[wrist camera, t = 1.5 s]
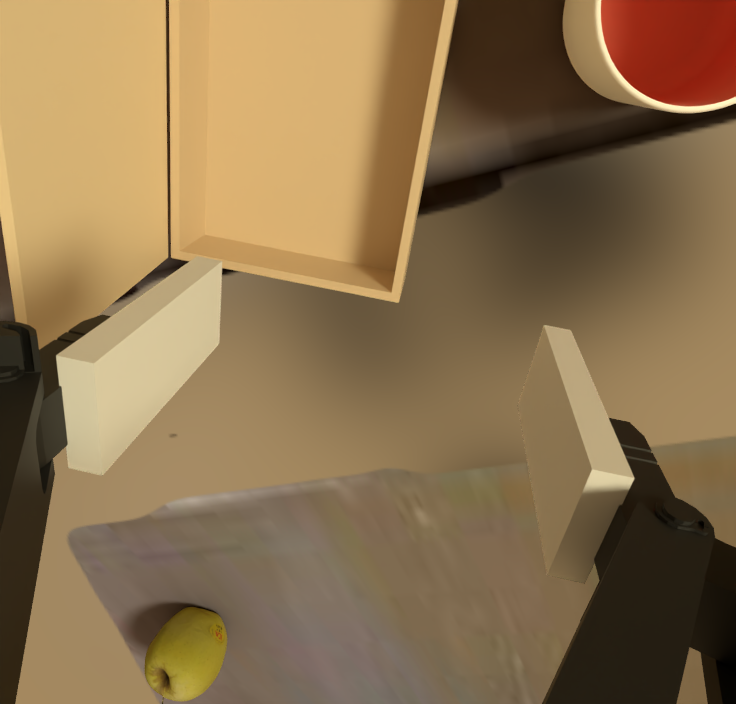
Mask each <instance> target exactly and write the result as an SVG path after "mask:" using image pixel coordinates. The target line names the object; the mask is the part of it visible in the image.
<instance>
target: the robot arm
mask: <svg viewBox="0 0 736 704" xmlns="http://www.w3.org/2000/svg"><path fill="white" fill-rule="evenodd" d="M221 281H222V261H219V260H214V259H209V258H204V257H199V256H197V257H195V258H194V259H193V260H191V261H190V262H188V263H187V264H185V265H184V266H183V267H181V268H180V269H178V270H177V271H175V272H174V273H173V274H171V275H170V276H168V277H167V278H165V279H164V280H163V281H161V282H160V283H158V284H157V285H156V286H154V287H153V288H151V289H150V290H148V291H147V292H146V293H144V294H143V295H141V296H140V297H138V298H137V299H136V300H134V301H133V302H131V303H130V304H128V305H127V306H126V307H124V308H123V309H121V310H120V311H119V312H117V313H116V314H114V315H113V316H106V315H100V316H97V317H94V318H91V319H88V320H84V321H82V322H80V323H79V324H77V325H76V326H74V327H73V328H71V329H70V330H69V332H65V333H64V334H62V335H61V336H59V337H58V338H57V340H53V341H52V342H50V343H49V344H47V345H46V346H44V347H43V348H41V349H40V350H39V346H38V338H37V332H36V329H34V328H33V327H31V326H30V325H27V324H23V323H20V322H9V321H0V704H15V701H16V695H17V689H18V683H19V678H20V672H21V666H22V661H23V654H24V649H25V643H26V637H27V632H28V626H29V620H30V615H31V609H32V603H33V597H34V591H35V586H36V580H37V574H38V568H39V562H40V556H41V551H42V545H43V539H44V534H45V527H46V522H47V516H48V510H49V504H50V499H51V493H52V487H53V481H54V475H55V472H54V464H53V458H54V457H55V456H56V455H57V454H58V453H59V452H60V451H61V450H62V449H63V448H64V447H65V446H66V449H67V458H68V467H69V468H71V469H76V470H80V471H85V472H89V473H93V474H98V475H103V474H104V473H105V472H106V471H107V470H108V469H109V468H110V467H111V465H112V464H113V463H114V462H115V461H116V460H117V458H119V456H120V455H121V454H122V453H123V452H124V451H125V450H126V448H127V447H128V446H129V445H130V444H131V443H132V442H133V440H134V439H135V438H136V437H137V436H138V435H139V434H140V432H141V431H142V430H143V429H144V428H145V427H146V426H147V425H148V424H149V422H150V421H151V420H152V419H153V418H154V417H155V416H156V414H157V413H158V412H159V411H160V410H161V409H162V407H164V405H165V404H166V403H167V402H168V401H169V400H170V399H171V397H172V396H173V395H174V394H175V393H176V392H177V391H178V390H179V389H180V387H181V386H182V385H183V384H184V383H185V382H186V381H187V379H188V378H189V377H190V376H191V375H192V374H193V373H194V372H195V370H196V369H197V368H198V367H199V366H200V365H201V364H202V363H203V361H204V360H205V359H206V358H207V357H208V356H209V355H210V353H211V352H212V351H213V350H214V349H215V348H216V347H217V345H218V344H219V334H220V308H221ZM518 411H519V417H520V422H521V428H522V434H523V440H524V445H525V451H526V457H527V463H528V468H529V474H530V480H531V486H532V491H533V497H534V503H535V508H536V514H537V520H538V526H539V531H540V537H541V543H542V549H543V554H544V560H545V566H546V571H547V575H548V576H553V577H557V578H562V579H566V580H571V581H575V582H580V583H584V584H585V582H586V580H587V578H588V576H589V574H590V572H591V569H592V567H593V565H594V563H595V565H596V569H597V572H598V576H599V580H600V581H599V583H598V585H597V587H596V589H595V591H594V594H593V596H592V598H591V600H590V602H589V604H588V606H587V608H586V610H585V612H584V614H583V616H582V618H581V620H580V623H579V626H578V628H577V630H576V632H575V634H574V636H573V639H572V641H571V643H570V645H569V647H568V649H567V651H566V654H565V656H564V658H563V660H562V662H561V664H560V666H559V669H558V671H557V673H556V675H555V677H554V679H553V681H552V684H551V686H550V688H549V690H548V692H547V694H546V696H545V699H544V701H543V703H542V704H676V703H677V698H678V694H679V690H680V685H681V681H682V677H683V672H684V668H685V664H686V659H687V655H688V651H689V647H691V648H693V649H695V650H697V651H699V652H701V658H702V665H703V673H704V680H705V687H706V694H707V701H708V704H736V547H733V546H731V545H728V544H726V543H724V542H722V541H720V540H718V539H716V538H715V535H714V528H713V526H712V525H711V523H710V522H709V521H708V519H707V518H706V517H705V516H704V515H703V514H702V513H701V512H699V511H698V510H697V509H696V508H694V507H693V506H691V505H689V504H688V503H686V502H684V501H683V500H680V499H678V498H675V496H674V494H673V492H672V490H671V488H670V486H669V484H668V482H667V480H666V478H665V476H664V474H663V472H662V470H661V468H660V466H659V465H657V461H656V459H655V457H654V455H653V453H651V449H650V447H649V445H648V443H647V441H646V439H645V437H644V436H643V435H642V434H641V433H640V432H639V431H638V430H637V429H636V428H635V427H634V426H633V425H632V424H631V423H630V422H626V421H621V420H616V419H611V418H608V416H607V413H606V411H605V409H604V406H603V404H602V402H601V399H600V397H599V395H598V393H597V390H596V388H595V385H594V383H593V381H592V378H591V376H590V374H589V371H588V369H587V367H586V365H585V362H584V360H583V358H582V355H581V353H580V351H579V349H578V346H577V344H576V341H575V339H574V337H573V334H572V332H571V330H567V329H562V328H557V327H552V326H547V325H544V326H543V329H542V332H541V335H540V338H539V341H538V344H537V347H536V351H535V354H534V357H533V360H532V363H531V366H530V369H529V372H528V375H527V378H526V381H525V384H524V388H523V390H522V393H521V397H520V400H519V403H518Z"/></svg>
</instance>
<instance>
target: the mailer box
mask: <svg viewBox="0 0 736 704" xmlns="http://www.w3.org/2000/svg"><path fill="white" fill-rule="evenodd" d="M458 2H459V0H169V44H170V183H171V258H175V259H180V260H185V261H191V260H193V259H194V258H195V257H197V256H199V257H204V258H209V259H214V260H219V261H222V268H225V269H230V270H235V271H240V272H246V273H251V274H256V275H261V276H266V277H271V278H276V279H281V280H286V281H291V282H296V283H301V284H307V285H311V286H316V287H321V288H327V289H331V290H336V291H342V292H347V293H352V294H357V295H362V296H367V297H372V298H377V299H382V300H387V301H392V302H397V303H399V300H400V295H401V292H402V288H403V284H404V281H405V276H406V271H407V266H408V260H409V255H410V250H411V245H412V239H413V234H414V229H415V224H416V219H417V214H418V209H419V204H420V198H421V193H422V188H423V183H424V178H425V173H426V167H427V162H428V157H429V152H430V147H431V142H432V136H433V131H434V126H435V121H436V116H437V111H438V105H439V100H440V95H441V90H442V85H443V80H444V74H445V69H446V64H447V59H448V54H449V49H450V43H451V38H452V33H453V28H454V23H455V18H456V12H457V7H458Z"/></svg>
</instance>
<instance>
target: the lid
mask: <svg viewBox="0 0 736 704" xmlns="http://www.w3.org/2000/svg"><path fill="white" fill-rule="evenodd" d="M0 217H1V224H2V230H3V237H4V244H5V251H6V258H7V265H8V272H9V278H10V285H11V292H12V299H13V306H14V313H15V320H16V322H20V323H23V324H27V325H30V326H31V327H33V328H34V329H36V332H37V338H38V346H39V350H40V349H41V348H43V347H44V346H46V345H47V344H49V343H50V342H52V341H53V340H57V338H58V337H59V336H61V335H62V334H64V333H65V332H69V330H70V329H71V328H73V327H74V326H76V325H77V324H79V323H80V322H82V321H84V320H88V319H91V318H94V317H97V316H98V315H99V314H100V313H101V312H103V311H104V310H105V309H106V308H107V307H109V306H110V305H111V304H112V303H113V302H115V301H116V300H117V299H118V298H120V297H121V296H122V295H123V294H124V293H126V292H127V291H128V290H129V289H130V288H132V287H133V286H134V285H135V284H136V283H138V282H139V281H140V280H141V279H142V278H144V277H145V276H146V275H147V274H149V273H150V272H151V271H152V270H153V269H155V268H156V267H157V266H158V265H159V264H161V263H162V262H163V261H164V260H165V259H167V258H168V189H167V85H166V0H0Z"/></svg>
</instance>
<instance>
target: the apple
mask: <svg viewBox="0 0 736 704" xmlns="http://www.w3.org/2000/svg"><path fill="white" fill-rule="evenodd" d="M226 646H227V633H226V629H225V626H224V623H223V621H222V619H221V617H220V616H219V615H218V614H216V613H214V612H211V611H208V610H205V609H200V608H196V607H187V608H184V609H183V610H181V611H180V612H178V613H177V614H176V615H174V616H173V617H172V618H171V619H170V620H169V621H168V622H167V623H166V624H165V625H164V626H163V627H162V628H161V630H160V631H159V633H158V634H157V635H156V637H155V638H154V640H153V641H152V642H151V644H150V646H149V648H148V650H147V653H146V658H145V676H146V679H147V682H148V684H149V685H150V686H151V687H152V688H153V689H154V690H155V691H156V692H157V693H159V694H160V695H162V696H163V699H164V697H165V698H167V699H170V700H174V701H188V700H191V699H193V698H195V697H197V696H199V695H200V694H202V693H203V692H204V691H206V690H207V689H208V688H209V686H210V685H211V684H212V683H213V681H214V680H215V678H216V677H217V675H218V673H219V671H220V669H221V666H222V663H223V660H224V656H225V652H226ZM162 704H163V701H162Z"/></svg>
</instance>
